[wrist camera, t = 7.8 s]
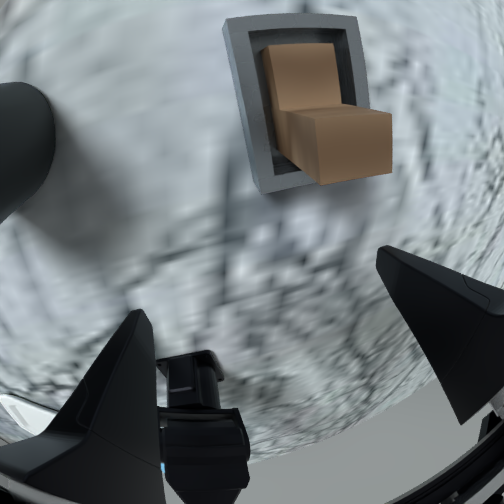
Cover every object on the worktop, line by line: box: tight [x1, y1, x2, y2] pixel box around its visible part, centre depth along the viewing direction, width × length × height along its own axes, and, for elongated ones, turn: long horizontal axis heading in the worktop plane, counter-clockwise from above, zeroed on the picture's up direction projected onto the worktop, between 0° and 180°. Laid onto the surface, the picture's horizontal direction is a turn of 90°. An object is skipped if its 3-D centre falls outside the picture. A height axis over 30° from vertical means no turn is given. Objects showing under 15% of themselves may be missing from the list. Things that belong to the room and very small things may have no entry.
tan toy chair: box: [260, 43, 392, 186], centre depth 12 cm, size 7×4×7 cm, turn 10°
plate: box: [0, 394, 58, 435], centre depth 36 cm, size 25×25×2 cm
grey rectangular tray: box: [222, 13, 370, 195], centre depth 15 cm, size 11×8×2 cm
